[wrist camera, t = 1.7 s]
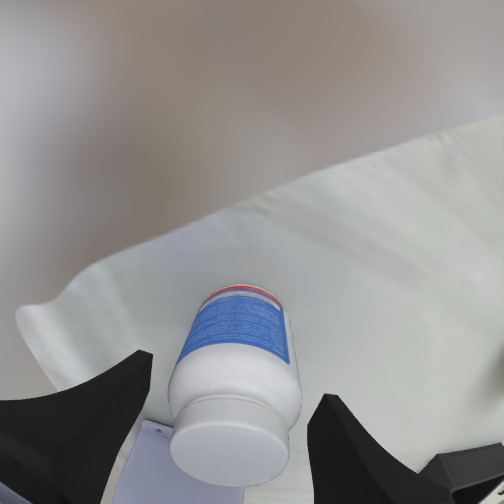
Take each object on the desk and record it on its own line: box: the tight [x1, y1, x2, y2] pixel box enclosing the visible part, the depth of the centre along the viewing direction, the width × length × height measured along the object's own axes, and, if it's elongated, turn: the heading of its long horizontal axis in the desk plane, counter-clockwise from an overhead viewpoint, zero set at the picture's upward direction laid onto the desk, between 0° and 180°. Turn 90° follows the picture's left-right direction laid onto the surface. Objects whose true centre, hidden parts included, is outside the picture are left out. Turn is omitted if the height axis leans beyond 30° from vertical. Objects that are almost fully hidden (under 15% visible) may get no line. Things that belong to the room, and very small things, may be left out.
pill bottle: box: [168, 284, 302, 487], centre depth 13 cm, size 6×5×10 cm
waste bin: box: [419, 443, 504, 504], centre depth 20 cm, size 13×13×5 cm
